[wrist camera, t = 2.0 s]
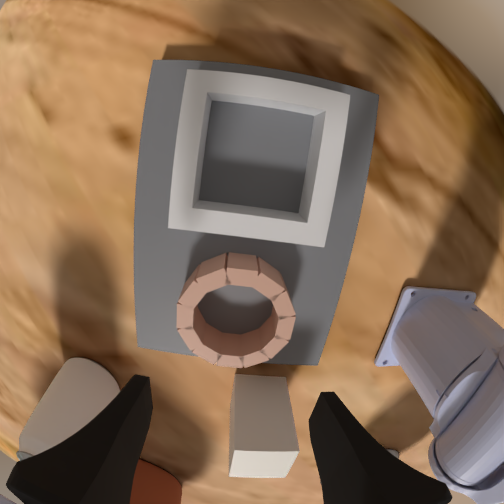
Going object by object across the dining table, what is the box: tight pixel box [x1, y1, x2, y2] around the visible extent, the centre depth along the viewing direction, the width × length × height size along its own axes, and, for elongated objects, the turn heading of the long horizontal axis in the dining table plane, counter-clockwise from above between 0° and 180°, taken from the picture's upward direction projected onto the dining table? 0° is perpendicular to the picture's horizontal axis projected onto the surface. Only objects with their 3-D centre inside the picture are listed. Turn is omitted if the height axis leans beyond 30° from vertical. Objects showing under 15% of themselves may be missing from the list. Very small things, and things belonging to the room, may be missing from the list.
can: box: [16, 357, 120, 461], centre depth 18 cm, size 6×6×12 cm
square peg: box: [229, 374, 299, 478], centre depth 21 cm, size 4×4×8 cm
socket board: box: [134, 60, 379, 368], centre depth 17 cm, size 14×20×4 cm
